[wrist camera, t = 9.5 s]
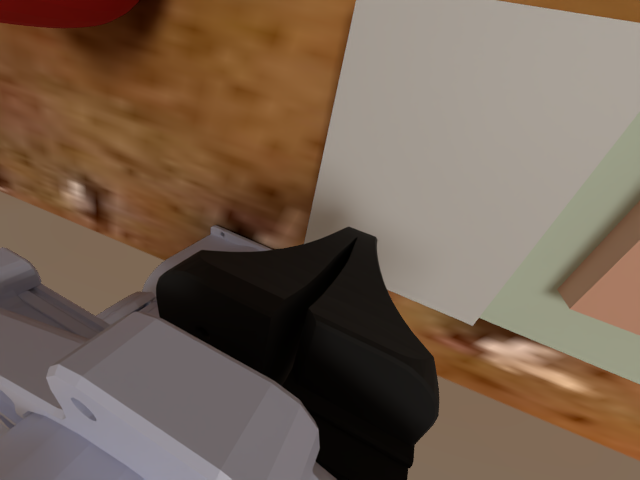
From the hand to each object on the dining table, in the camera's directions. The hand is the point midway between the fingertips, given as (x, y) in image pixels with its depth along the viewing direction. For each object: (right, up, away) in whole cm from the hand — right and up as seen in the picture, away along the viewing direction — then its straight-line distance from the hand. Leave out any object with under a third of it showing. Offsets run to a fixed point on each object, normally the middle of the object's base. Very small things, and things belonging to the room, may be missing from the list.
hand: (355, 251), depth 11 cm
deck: (+6, +5, +6) cm, 10 cm away
